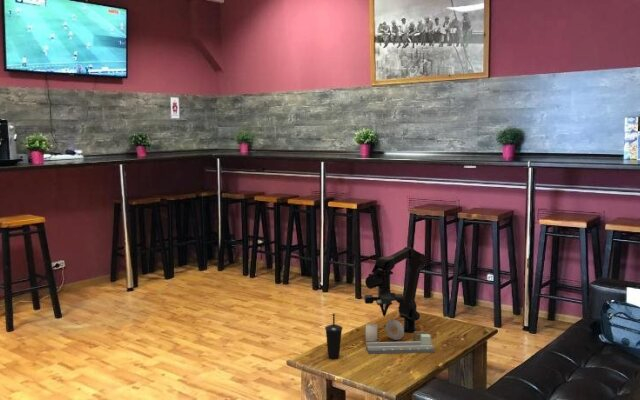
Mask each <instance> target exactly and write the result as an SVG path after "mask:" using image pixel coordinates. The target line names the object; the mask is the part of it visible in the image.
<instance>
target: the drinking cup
mask: <svg viewBox="0 0 640 400" xmlns="http://www.w3.org/2000/svg"><path fill="white" fill-rule="evenodd" d="M335 321H336V320H335V313H332V324H329V325H326V326H324V329H325V336H326V346H327V347H326V348H327V357H328V359H329V360H337V359H339V358H340V352H341V343H342V341H341V340H342V331H343V327H342V326H341V325H339V324H335V323H336V322H335Z"/></svg>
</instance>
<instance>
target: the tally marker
mask: <svg viewBox="0 0 640 400" xmlns="http://www.w3.org/2000/svg"><path fill="white" fill-rule="evenodd" d="M420 345H421V346H422V345H432V335H431V334H429V333H426V334H421V341H420Z"/></svg>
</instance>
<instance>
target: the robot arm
mask: <svg viewBox="0 0 640 400" xmlns="http://www.w3.org/2000/svg"><path fill="white" fill-rule="evenodd" d="M406 259H407V260H408V262H407V264H408V266H409V275H408V279H407V284H406V289H405V294H404V295H403V293H396V292H391V275H394V272H393V271H392V270H393V269H394V268H395V266H396V265H398V264H399V263H400V262H403V261H404V260H406ZM426 261H427V256H426V255H425V254H424V253H421V252H419V251H417V250H416V249H415V248H412V247H409V246H405V247H403V249H401V250H398V251H397V252H395V253H393V254H391V255H388V256H380V257H378V258H377V259H376V261H375V264H374V266H373V267H372V271H371V273H368V276H367V277H366V278H365V281H364V283H365V286H366V287H367V289H369V290H372V289H375V288H377V289H378V290H377V293H378V294H377V296H373V294H365V295H364V296H363V302H364V303H365V304H367V305H368V304H370V305H372V304H373V303H376V305H377V306H378V305H379V307H380V310H381V313H382V316H383V317H386V315H387V312H388V309H389V307H390V306H392V305H393V302H394V301H396V302H397V303H398V307H397V309H398V313H399V318H403V328H404V333H414V331H418V330H417V328H416V322H417V321H419V320H420V317H421V315H420V313H419V311H417V308H418V307H417V303H416V300H415V299H416V294H417V289H418V284H419V280H420V274H421V271H422V270H423V269H424V268H425V265H426Z"/></svg>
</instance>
